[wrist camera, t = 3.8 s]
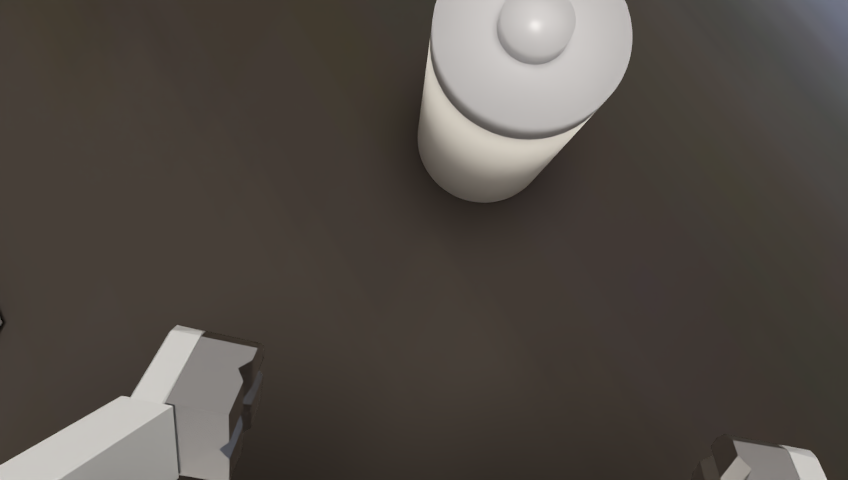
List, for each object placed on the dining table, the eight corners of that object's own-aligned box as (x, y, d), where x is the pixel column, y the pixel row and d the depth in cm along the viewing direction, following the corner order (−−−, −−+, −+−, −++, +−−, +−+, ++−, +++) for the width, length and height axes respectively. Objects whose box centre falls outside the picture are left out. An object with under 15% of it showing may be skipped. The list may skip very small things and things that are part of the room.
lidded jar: (513, 58, 26) (586, -106, 16) (568, 172, 25) (677, 72, 16) (396, 105, 25) (400, -36, 16) (449, 223, 24) (487, 151, 15)
